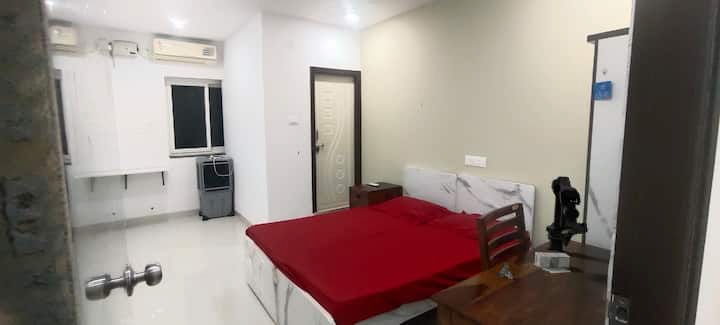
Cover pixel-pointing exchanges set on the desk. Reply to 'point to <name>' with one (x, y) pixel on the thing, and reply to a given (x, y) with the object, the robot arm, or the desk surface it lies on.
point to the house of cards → (505, 272)
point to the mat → (555, 269)
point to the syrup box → (552, 260)
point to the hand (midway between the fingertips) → (565, 246)
